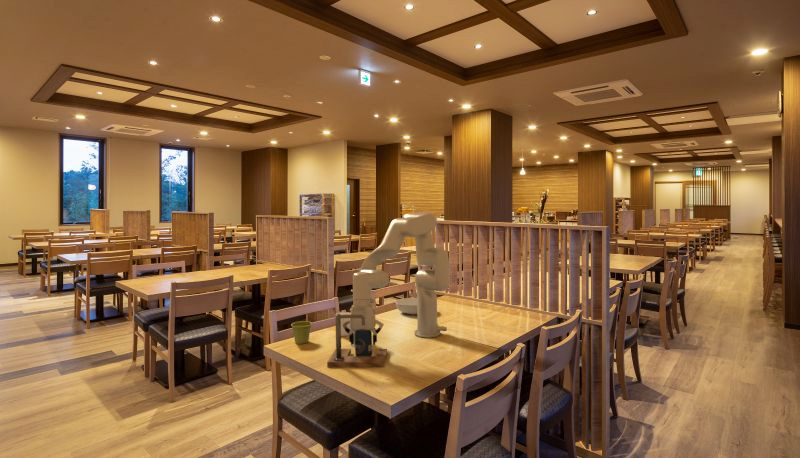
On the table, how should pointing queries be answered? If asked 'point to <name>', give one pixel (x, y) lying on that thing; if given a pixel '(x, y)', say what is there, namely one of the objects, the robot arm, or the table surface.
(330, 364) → the u-shaped wooden block
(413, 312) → the serving bowl
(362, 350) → the soda can
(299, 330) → the plant pot
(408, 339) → the table surface
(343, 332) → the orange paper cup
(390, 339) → the table surface
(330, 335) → the table surface
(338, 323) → the knobbed metal rod
